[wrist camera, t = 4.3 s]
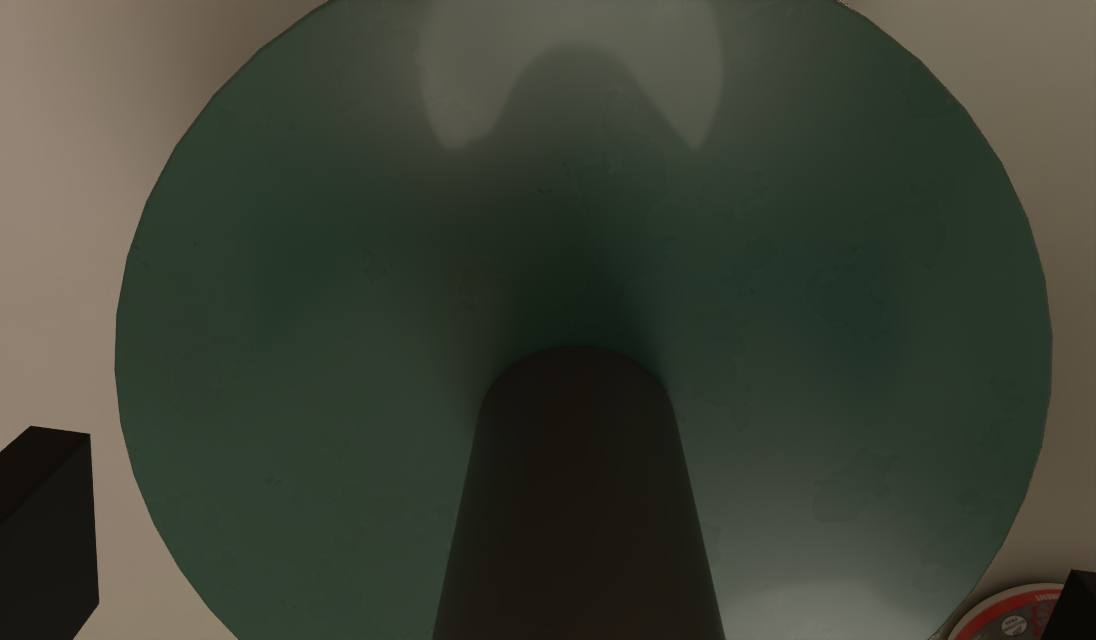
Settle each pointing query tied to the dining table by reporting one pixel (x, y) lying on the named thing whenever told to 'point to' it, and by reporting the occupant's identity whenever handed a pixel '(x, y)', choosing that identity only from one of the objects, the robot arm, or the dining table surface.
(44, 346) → the dining table surface
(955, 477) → the pot lid
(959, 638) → the pill bottle
